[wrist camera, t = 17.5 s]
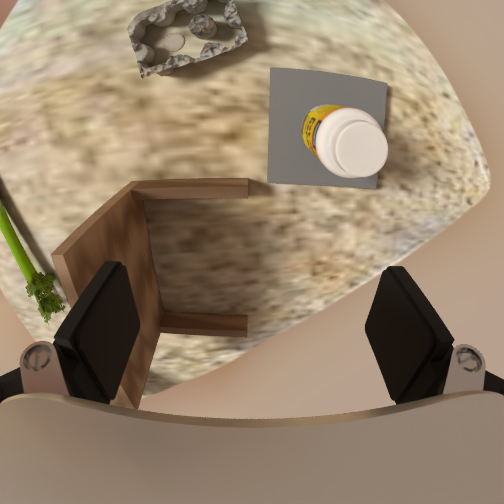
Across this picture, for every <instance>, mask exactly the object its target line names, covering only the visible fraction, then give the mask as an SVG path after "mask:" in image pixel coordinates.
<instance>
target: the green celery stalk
mask: <svg viewBox="0 0 504 504" xmlns="http://www.w3.org/2000/svg"><path fill="white" fill-rule="evenodd" d="M0 229H1V231H2V233H3V235H4V237H5V239H6V241H7V243H8V245H9V247H10V249H11V251H12V253H13V255H14V257H15V259H16V261H17V263H18V265H19V267H20V269H21V271H22V273H23V274H24V276H25V278H26V280H27V283H28V285H27V287H28V288H27V287H26V289H27V293H28V294H29V292H30V295H28V297H31V296H32V294H34V295H35V297H36V300H37V302H38V300H40V301H39V302H38V304H39V308H38V310H39V311H40V313H41V316H42V318H43V317H44V316H45V315H46V316H45V317H44V319H45V318H46V320H47V321H46V320H44V322H46V323H48V320H50V319H51V317H50V316H51V313H52V312H54V311H55V313H57V311H58V312H59V311H61V310H64V309H65V306H64V305H63V307H62V304H61V303H63V302H62V301H61V300H60V299H59V296H58V295H57V296H55V295H54V294H52V292H51V291H52V290H53V289H52V288H53V287H54V286H53V285H51V284H53V280H54V279H55V278H54V277H55V276H54V274H53V273H50V274H48V275H47V274H46V275H45V276H44V275H43V274H42V273H41V272H39V273H37V271H36V270H35V268H34V266H33V265H32V263H31V261H30V259H29V258H28V256H27V254H26V252H25V250H24V248H23V247H22V245H21V243H20V241H19V239H18V237H17V235H16V233H15V231H14V229H13V227H12V225H11V222H10V220H9V218H8V216H7V213H6V211H5V209H4V207H3V204H2V202H1V200H0ZM52 274H53V275H52ZM50 275H51V276H50ZM42 292H43V293H44V294H42ZM40 293H41V294H42V295H41V294H40ZM50 294H51V295H50ZM39 295H40V296H39ZM42 296H43V297H42ZM40 298H41V299H40ZM58 303H59V304H61V308H60V305H59V304H58ZM58 306H59V307H58ZM43 311H44V312H43ZM48 324H49V323H48Z"/></svg>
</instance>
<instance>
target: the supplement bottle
mask: <svg viewBox="0 0 504 504" xmlns="http://www.w3.org/2000/svg"><path fill="white" fill-rule="evenodd" d="M301 135H302V139H303V141H304V144H305V145H306V147H307V148H308V149H309V150H310V151H311V152H312V153H313V154H314V155H315V156H316V158H317V159H318V160H319V161H320V162H321V163H322V164H323V165H324V166H325V167H326V168H327V169H328V170H329V171H331V172H332V173H334V174H336V175H338V176H340V177H344V178H359V177H368V176H371V175H373V174H375V173H377V172H378V171H379V170H380V169H381V168H382V167H383V165H384V164H385V162H386V159H387V156H388V143H387V140H386V137H385V135H384V134H383V132H382V129H381V127H380V125H379V124H378V122H377V121H376V120H375V119H374V118H373V117H372V116H371V115H370V114H368V113H366V112H364V111H362V110H359V109H356V108H350V107H344V106H338V105H331V104H324V105H319V106H317V107H315V108H313V109H312V110H310V111H309V112H308V113H307V114H306V116H305V117H304V119H303V122H302V125H301Z"/></svg>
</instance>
